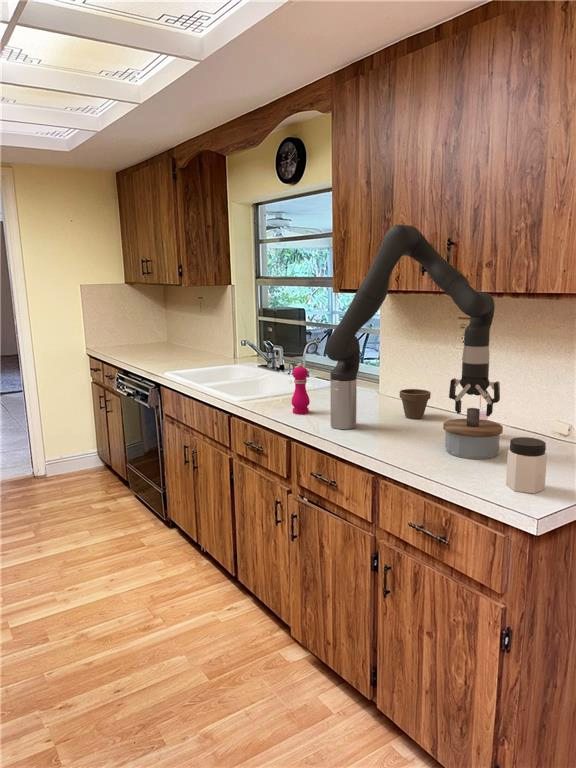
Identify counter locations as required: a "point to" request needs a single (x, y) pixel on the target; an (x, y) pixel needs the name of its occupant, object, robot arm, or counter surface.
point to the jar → (526, 465)
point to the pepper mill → (300, 391)
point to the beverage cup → (482, 411)
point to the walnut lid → (473, 425)
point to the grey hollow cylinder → (472, 446)
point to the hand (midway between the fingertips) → (473, 414)
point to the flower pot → (414, 402)
